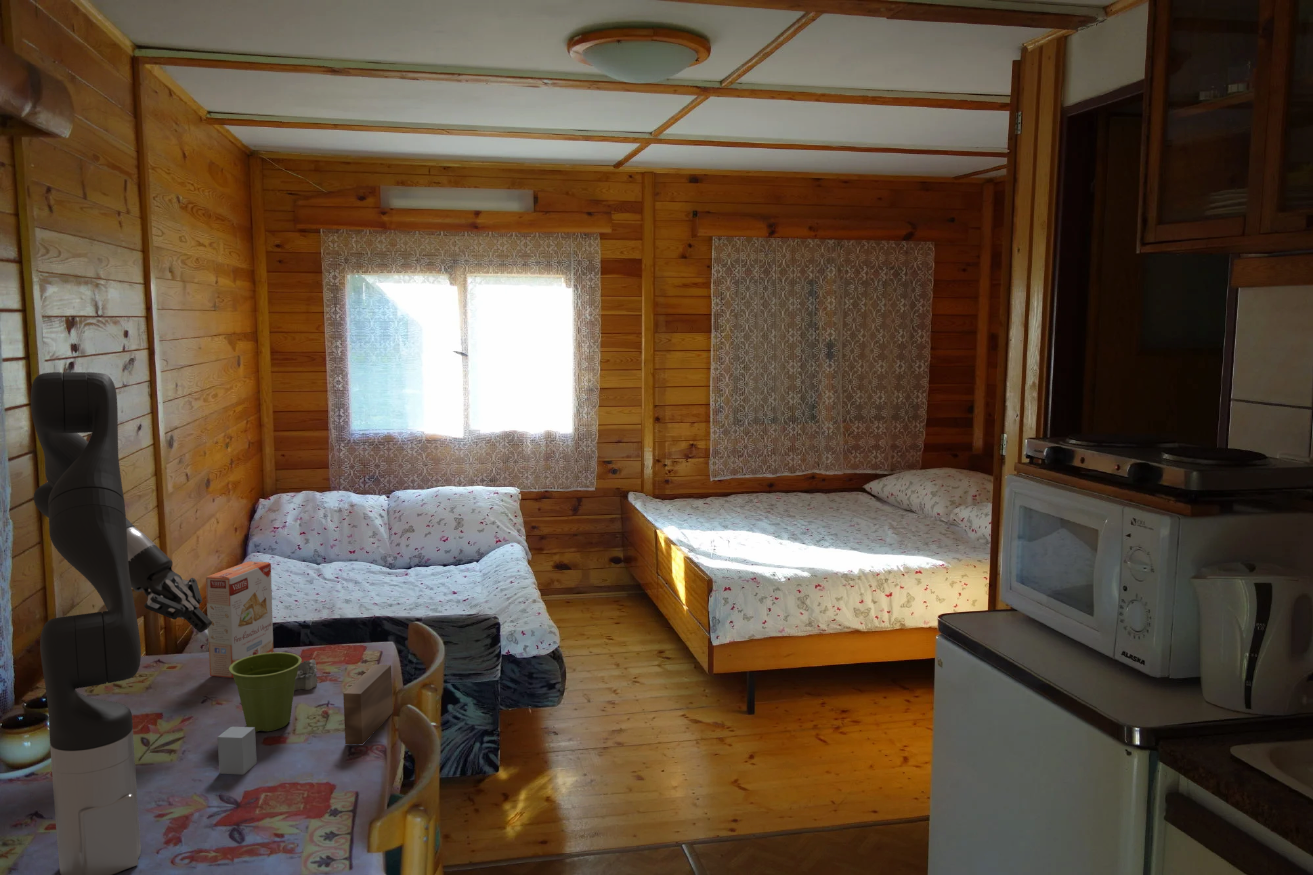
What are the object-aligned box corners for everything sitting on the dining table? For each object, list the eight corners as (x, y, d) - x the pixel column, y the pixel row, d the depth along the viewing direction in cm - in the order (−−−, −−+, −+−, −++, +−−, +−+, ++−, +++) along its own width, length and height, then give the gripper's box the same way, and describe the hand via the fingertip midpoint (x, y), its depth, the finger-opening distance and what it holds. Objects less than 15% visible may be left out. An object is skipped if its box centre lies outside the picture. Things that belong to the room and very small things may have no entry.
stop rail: (345, 744, 159) (343, 693, 158) (376, 711, 173) (375, 664, 172) (362, 745, 159) (360, 693, 158) (392, 712, 173) (391, 664, 172)
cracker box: (235, 679, 190) (229, 577, 188) (208, 677, 191) (203, 576, 189) (276, 656, 204) (272, 561, 201) (251, 654, 205) (246, 559, 203)
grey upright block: (243, 774, 149) (241, 737, 148) (219, 773, 149) (217, 737, 149) (256, 763, 153) (254, 727, 152) (232, 762, 153) (231, 726, 153)
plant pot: (216, 733, 164) (213, 670, 163) (264, 708, 175) (262, 649, 174) (272, 742, 160) (269, 678, 159) (318, 716, 172) (315, 655, 170)
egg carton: (275, 678, 192) (274, 658, 191) (315, 672, 195) (314, 653, 194) (277, 695, 182) (276, 675, 181) (319, 689, 185) (317, 669, 184)
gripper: (125, 552, 159) (199, 625, 160) (172, 536, 173) (240, 603, 173) (98, 583, 160) (171, 654, 161) (146, 564, 174) (213, 630, 174)
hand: (206, 628), depth 167 cm, fingers closed
